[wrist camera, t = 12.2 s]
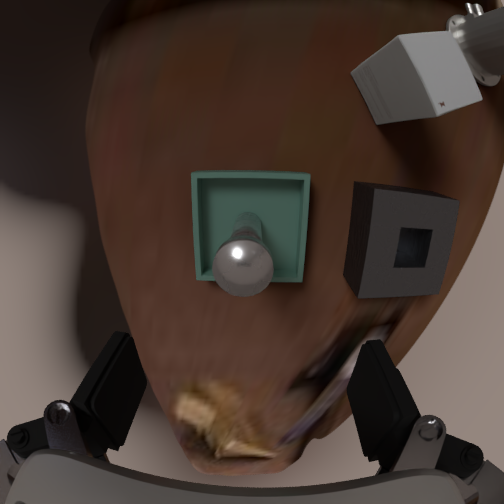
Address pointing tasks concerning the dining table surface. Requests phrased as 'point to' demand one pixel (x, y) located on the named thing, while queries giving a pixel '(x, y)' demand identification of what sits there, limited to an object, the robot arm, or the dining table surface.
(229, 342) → the dining table surface
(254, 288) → the pin
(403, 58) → the supplement box
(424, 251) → the socket block
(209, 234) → the tray
